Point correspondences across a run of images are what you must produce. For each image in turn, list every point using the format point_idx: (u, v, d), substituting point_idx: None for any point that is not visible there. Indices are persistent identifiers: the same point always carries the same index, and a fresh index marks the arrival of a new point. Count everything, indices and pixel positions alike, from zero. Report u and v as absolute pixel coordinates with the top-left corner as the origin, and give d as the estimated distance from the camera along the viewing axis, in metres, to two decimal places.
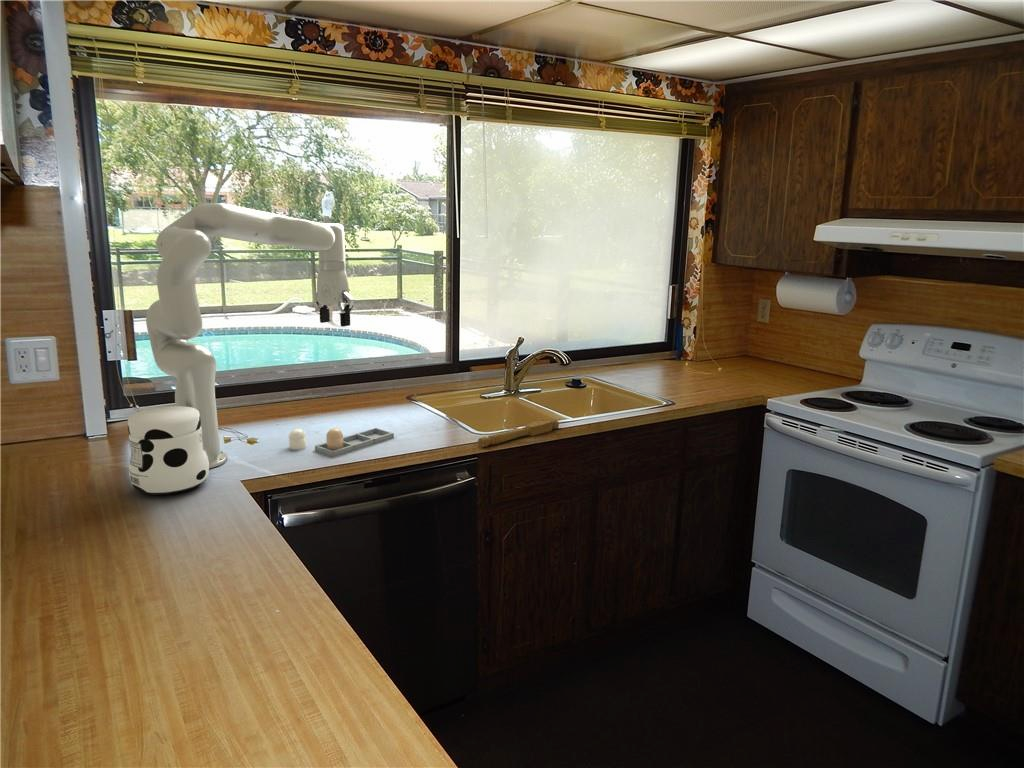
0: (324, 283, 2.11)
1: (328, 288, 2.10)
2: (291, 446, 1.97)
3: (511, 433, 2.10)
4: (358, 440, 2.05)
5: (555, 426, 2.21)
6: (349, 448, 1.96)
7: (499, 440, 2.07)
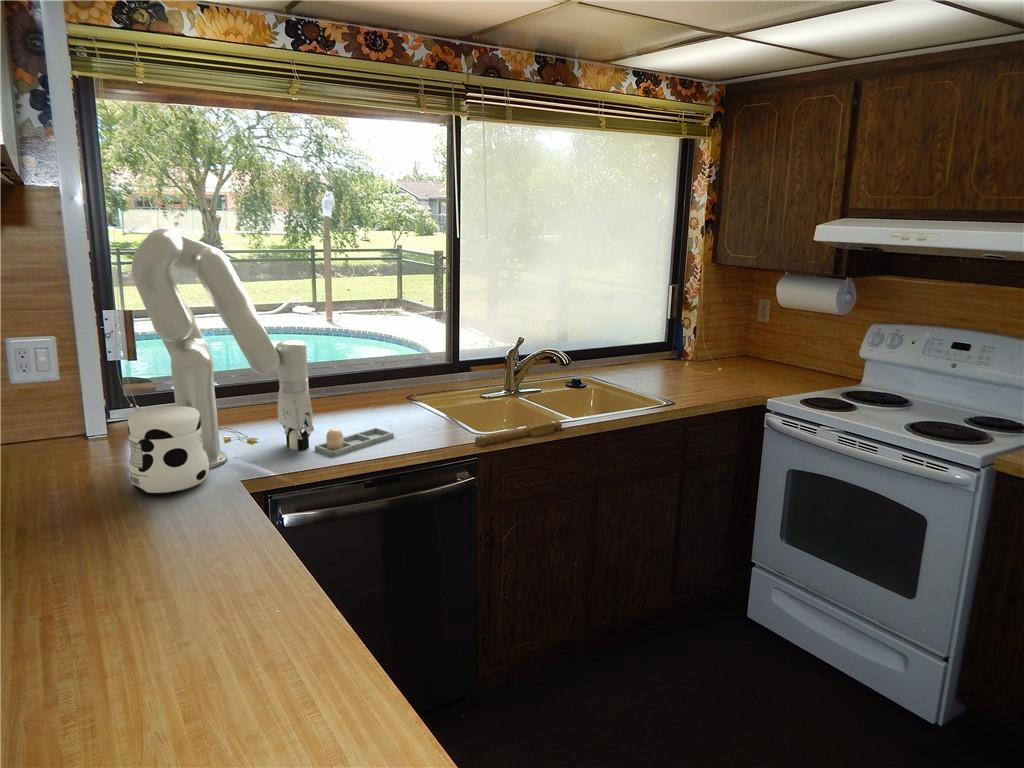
0: (285, 404, 1.94)
1: (289, 410, 1.94)
2: (291, 446, 1.97)
3: (510, 433, 2.10)
4: (358, 440, 2.05)
5: (558, 427, 2.20)
6: (349, 448, 1.96)
7: (497, 439, 2.07)
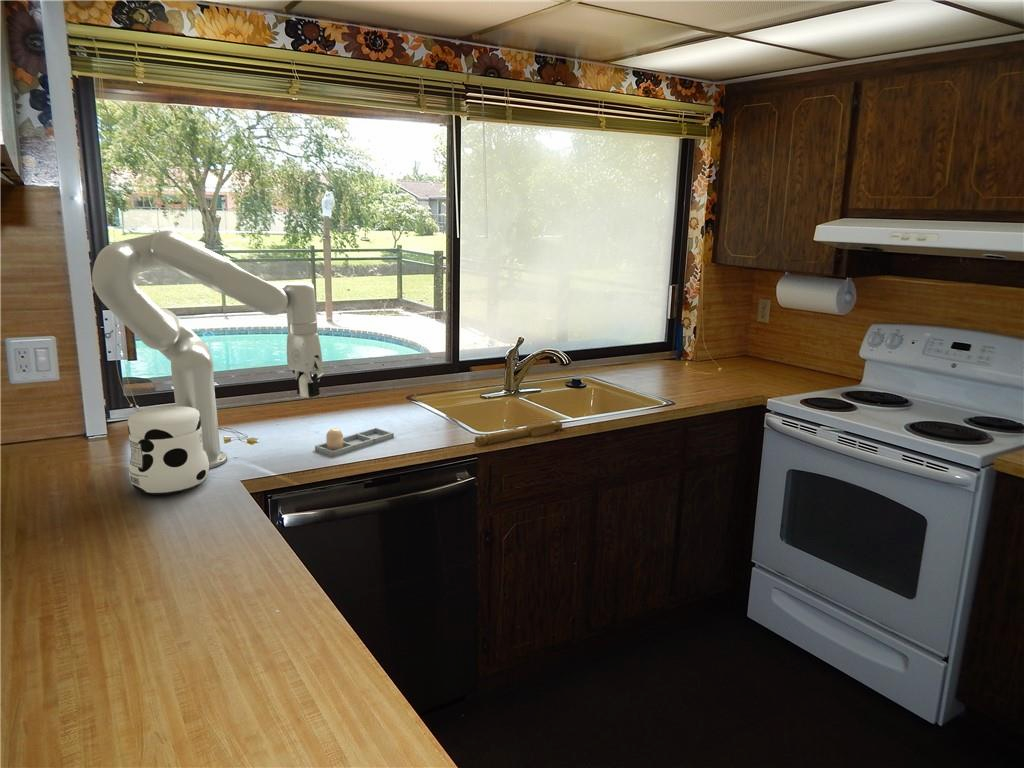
0: (294, 347, 1.92)
1: (299, 353, 1.91)
2: (301, 390, 1.95)
3: (510, 433, 2.10)
4: (358, 440, 2.05)
5: (558, 428, 2.20)
6: (349, 448, 1.96)
7: (496, 439, 2.08)
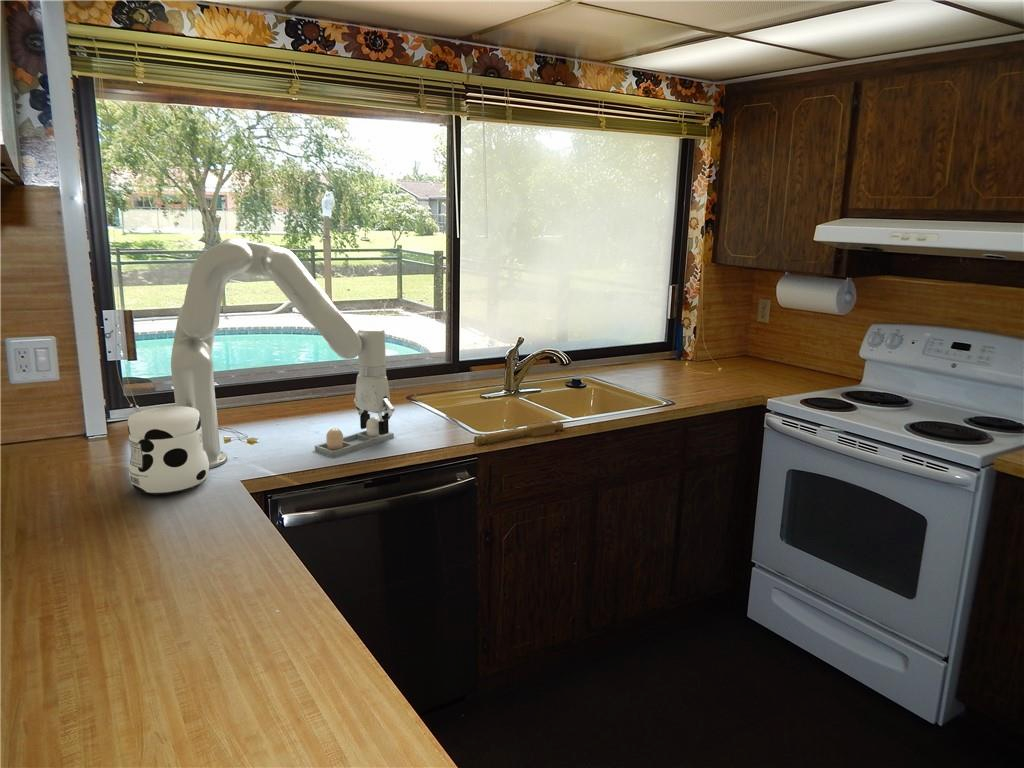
0: (364, 388, 2.02)
1: (368, 394, 2.01)
2: (369, 433, 2.06)
3: (509, 433, 2.10)
4: (358, 440, 2.05)
5: (559, 428, 2.19)
6: (349, 448, 1.96)
7: (496, 439, 2.08)
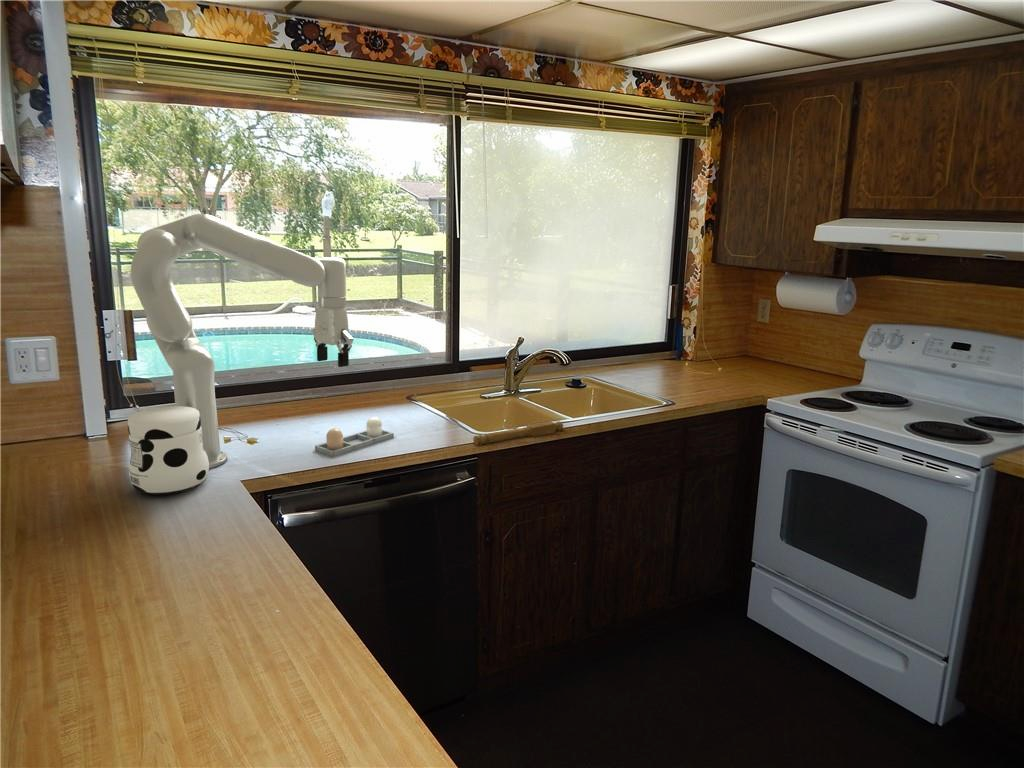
0: (322, 320, 1.99)
1: (326, 326, 1.98)
2: (369, 433, 2.06)
3: (509, 433, 2.11)
4: (358, 440, 2.05)
5: (559, 428, 2.19)
6: (349, 448, 1.96)
7: (495, 439, 2.08)
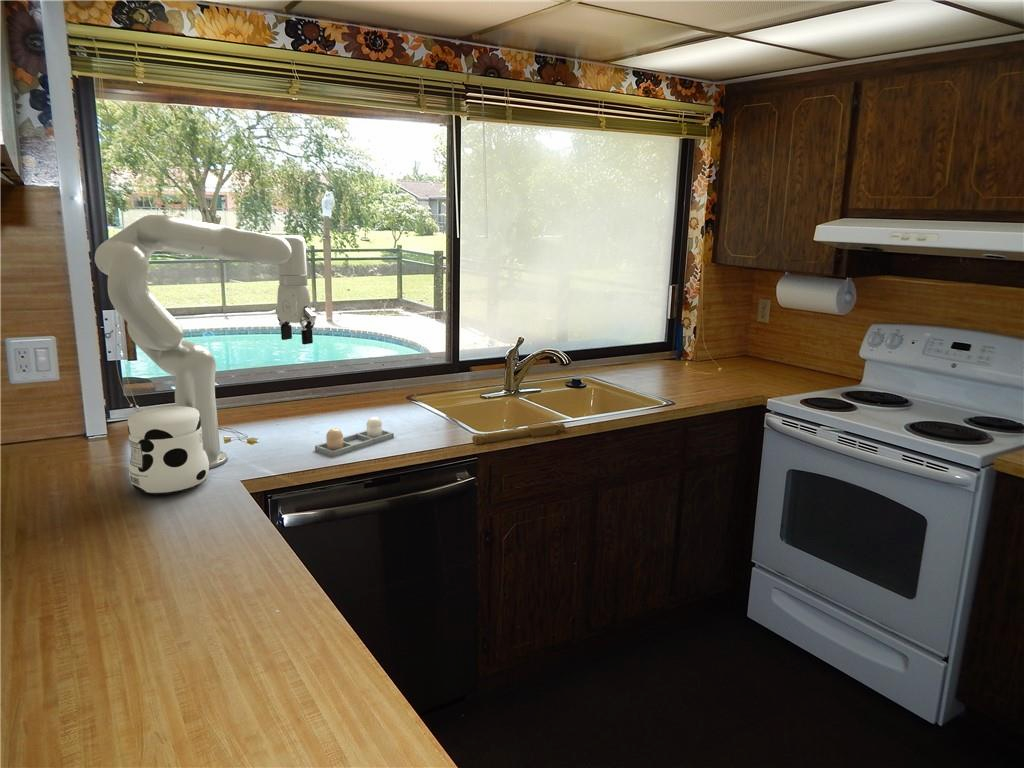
0: (284, 298, 1.99)
1: (288, 304, 1.98)
2: (369, 433, 2.06)
3: (509, 433, 2.11)
4: (358, 440, 2.05)
5: (560, 429, 2.18)
6: (349, 448, 1.96)
7: (494, 439, 2.08)
